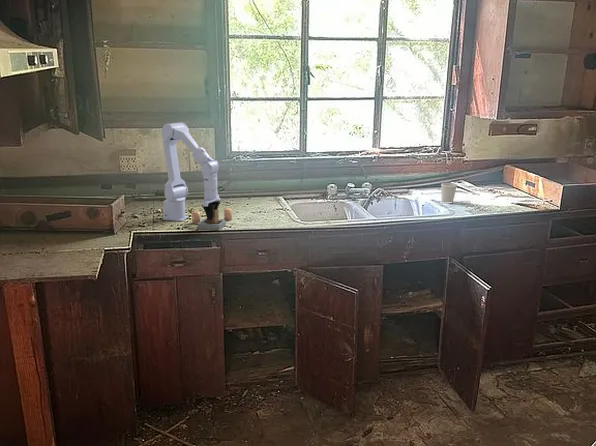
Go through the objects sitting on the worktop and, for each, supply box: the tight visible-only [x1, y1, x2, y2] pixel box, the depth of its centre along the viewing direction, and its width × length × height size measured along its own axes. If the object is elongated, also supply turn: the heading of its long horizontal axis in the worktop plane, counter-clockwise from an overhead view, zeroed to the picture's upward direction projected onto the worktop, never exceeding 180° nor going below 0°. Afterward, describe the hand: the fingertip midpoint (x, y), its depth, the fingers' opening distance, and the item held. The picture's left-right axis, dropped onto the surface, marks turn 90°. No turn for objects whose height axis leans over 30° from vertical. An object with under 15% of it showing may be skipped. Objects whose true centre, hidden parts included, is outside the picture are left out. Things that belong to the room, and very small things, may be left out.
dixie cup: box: [440, 182, 458, 203], centre depth 302 cm, size 8×8×10 cm
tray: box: [197, 218, 226, 231], centre depth 253 cm, size 10×8×2 cm
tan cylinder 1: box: [191, 210, 201, 225], centre depth 258 cm, size 4×4×5 cm
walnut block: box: [207, 208, 220, 224], centre depth 252 cm, size 4×4×6 cm
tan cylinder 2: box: [223, 207, 233, 222], centre depth 264 cm, size 4×4×5 cm
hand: (211, 218), depth 252 cm, fingers closed on walnut block, 4 cm apart
